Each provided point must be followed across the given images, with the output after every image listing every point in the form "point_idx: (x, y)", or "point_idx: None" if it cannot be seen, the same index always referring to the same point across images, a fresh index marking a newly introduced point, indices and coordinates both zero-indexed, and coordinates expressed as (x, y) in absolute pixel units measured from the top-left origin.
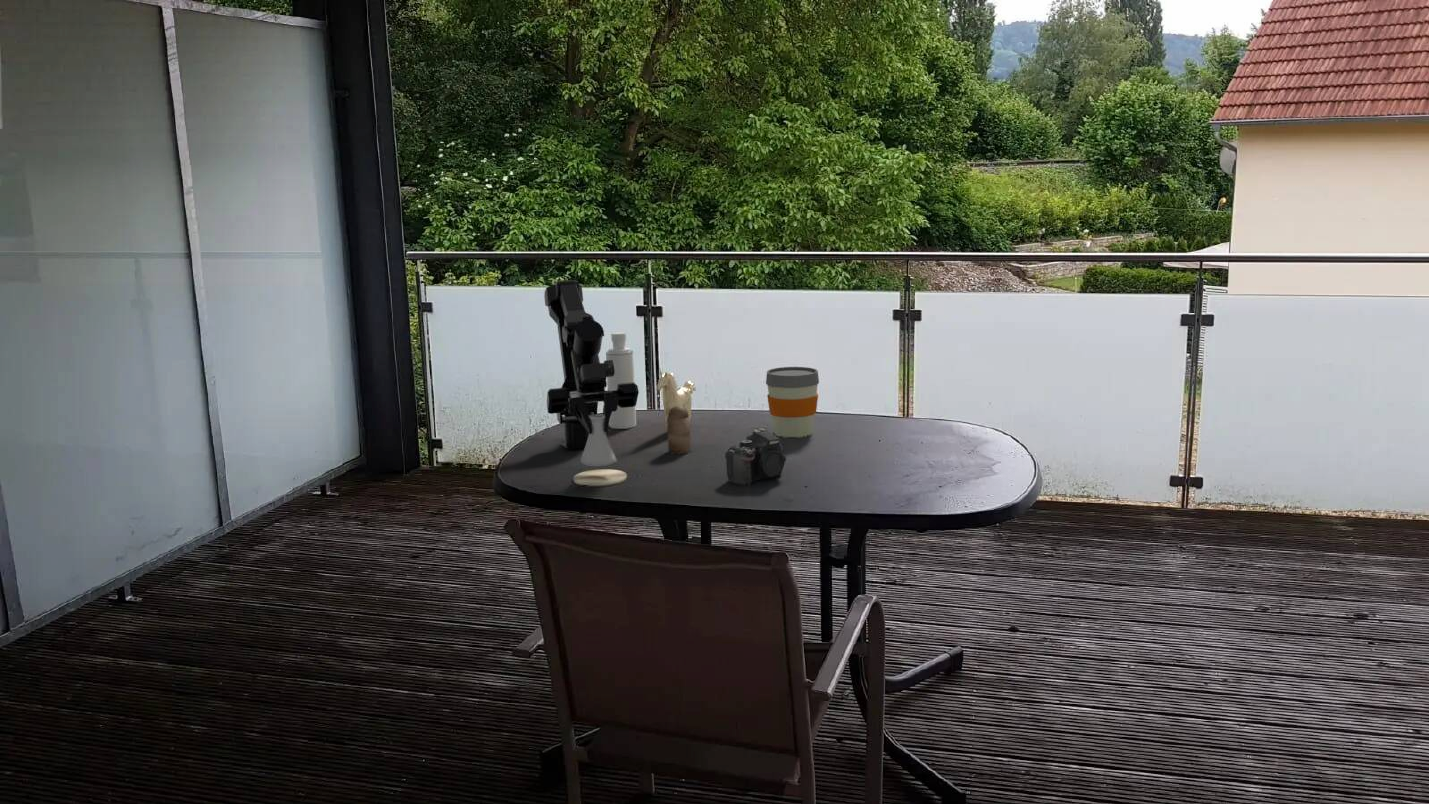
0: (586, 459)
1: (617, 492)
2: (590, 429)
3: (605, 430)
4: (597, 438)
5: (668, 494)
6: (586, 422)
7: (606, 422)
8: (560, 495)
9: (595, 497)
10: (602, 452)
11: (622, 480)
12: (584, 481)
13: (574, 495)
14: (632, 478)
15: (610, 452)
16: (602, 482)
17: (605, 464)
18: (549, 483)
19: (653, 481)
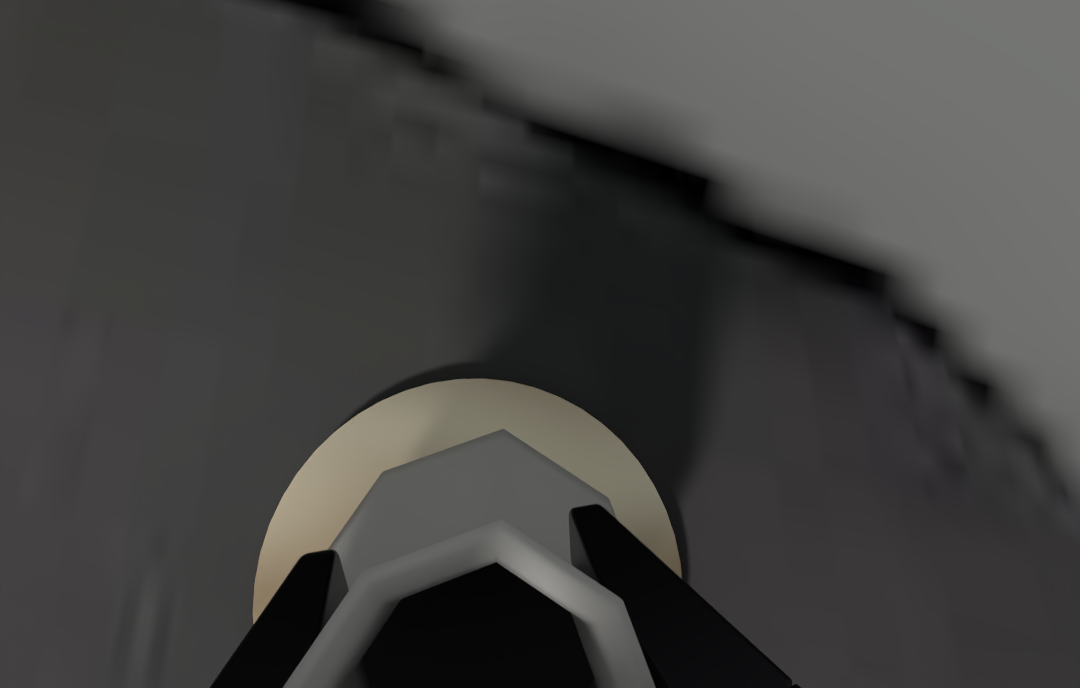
0: (599, 503)
1: (370, 215)
2: (594, 514)
3: (344, 591)
4: (483, 515)
5: (42, 98)
6: (689, 597)
7: (284, 648)
8: (733, 234)
9: (515, 144)
10: (436, 481)
11: (306, 465)
12: (594, 455)
13: (646, 214)
14: (219, 556)
15: (346, 552)
16: (461, 399)
17: (420, 458)
18: (844, 543)
19: (70, 431)
